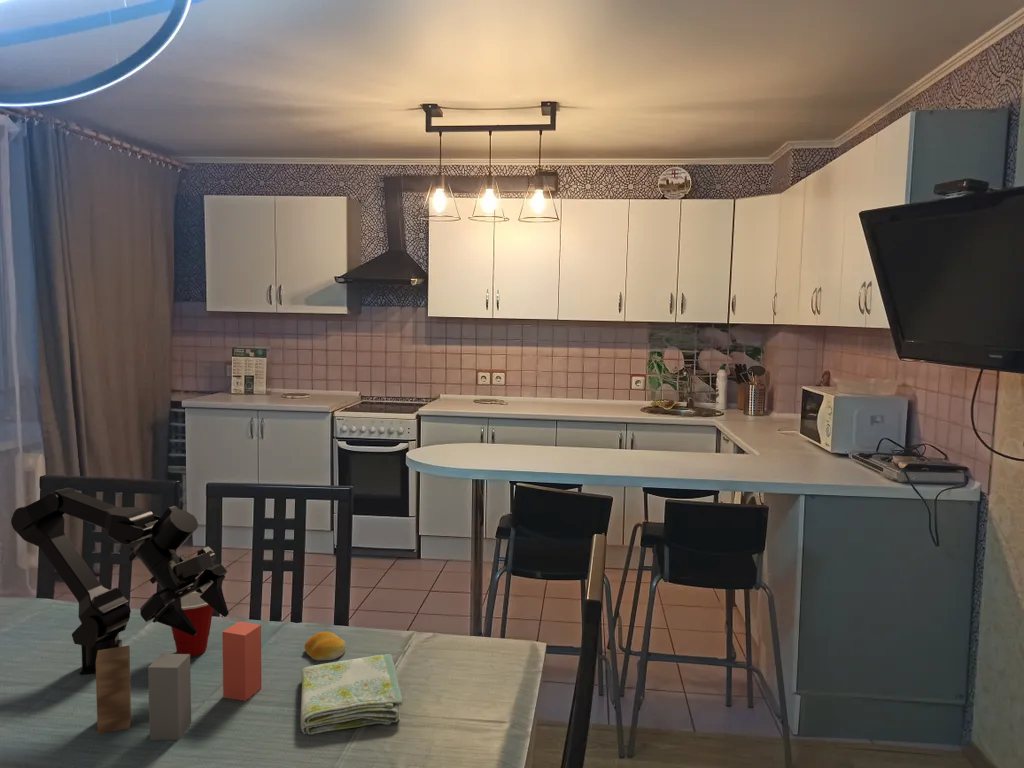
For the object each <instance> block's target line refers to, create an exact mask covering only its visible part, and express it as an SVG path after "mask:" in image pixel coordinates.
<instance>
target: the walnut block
mask: <svg viewBox="0 0 1024 768" xmlns="http://www.w3.org/2000/svg"><path fill="white" fill-rule="evenodd" d="M130 648H131V647H130V645H122V647H116V648H110V649H103V650H98V652H97V658H96V673H95V684H96V685H95V686H96V719H97V720H96V721H97V724H96V725H97V735H101V734H105V733H111V732H115V731H121V730H126V729H131V723H132V722H131V721H132V720H131V719H132V701H131V700H132V699H131V698H132V697H131V689H132V688H131V658H130V657H131V655H130V653H131V652H130Z"/></svg>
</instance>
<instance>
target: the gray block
mask: <svg viewBox="0 0 1024 768" xmlns="http://www.w3.org/2000/svg"><path fill="white" fill-rule="evenodd" d="M147 668H148V669H147V671H148V673H147V677H148V685H147V686H148V717H149V718H148V719H149V720H148V721H149V722H148V724H149V740H150V741H151V740H153V741H179V740H180V739H181V738H182V736H183V735H184V734H185V733H186V731H187V730H188V729H189V727H190V726H191V725H192V694H191V693H192V690H191V684H192V683H191V657H190V654H178V653H161V654H159V656H158V657H157V658H156V659H155V660H153V662H152V663H151V664H150V665H149V666H148V667H147ZM190 724H191V725H190ZM158 739H159V740H158ZM161 739H163V740H161ZM164 739H166V740H164Z"/></svg>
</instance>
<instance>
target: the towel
mask: <svg viewBox="0 0 1024 768" xmlns="http://www.w3.org/2000/svg"><path fill="white" fill-rule="evenodd" d="M300 672H301V697H300V698H301V701H300V702H301V705H300V730H301V732H302V733H303V734H304V735H305V734H307V735H314V734H320V733H326V732H333V731H338V730H347V729H354V728H359V727H363V726H370V725H376V724H382V725H387V726H388V725H392V723H398V722H400V720H401V714H400V713H401V712H400V706H402V705H403V697H402V692H401V688H400V684H399V680H398V674H397V670H396V666H395V663H394V659H393V657H392V654H391V653H386V654H377V655H371V656H365V657H359V658H351V659H345V660H339V661H333V662H332V661H331V662H328V663H327V662H326V663H320V664H315V665H309V666H305V667H304V668H301V671H300Z"/></svg>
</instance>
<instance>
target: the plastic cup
mask: <svg viewBox="0 0 1024 768" xmlns="http://www.w3.org/2000/svg"><path fill="white" fill-rule="evenodd" d="M202 594H203V593H202ZM202 594H201V593H198V592H196V591H193V592H191V593H189V594H188V595H186V596H184V597H182V598H181V607H182V610H183V611H184V612H185V614H186V615H187V617H188V618H189V619H190V621H191V622H192V624H193V625H194V627H195V629H196V630H197V633H196V634H195V635H194V636H192V635H190V634H187V633H185V632H183V631H180V630H178V629H176V628H173V627H171V626H170V628H171V633H172V637H173V640H174V644H175V649H176V652H177V654H190V658H192V656H194V657H197V656H200V655H202V654H204V653H205V652H206V650H207V648H208V644H209V643H208V642H209V637H210V630H211V624H212V620H213V619H212V618H213V613H214V609H213V608H212V607H211V606H210V605H209V604H207V603H206V602H205V601H204V600H203V599H201V598H200V596H201V595H202Z"/></svg>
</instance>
